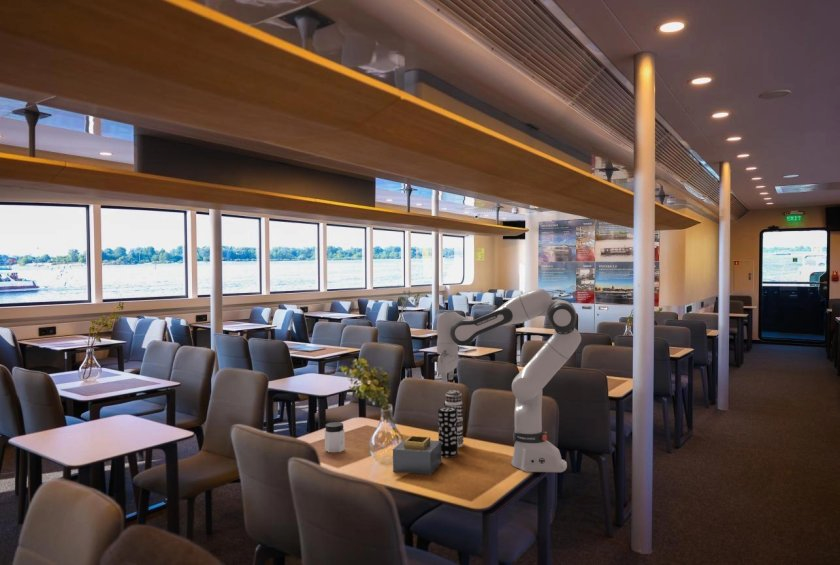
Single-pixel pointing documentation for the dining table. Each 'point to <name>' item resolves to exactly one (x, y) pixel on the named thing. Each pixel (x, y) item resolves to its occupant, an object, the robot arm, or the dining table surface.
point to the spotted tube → (448, 431)
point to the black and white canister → (456, 402)
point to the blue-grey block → (417, 455)
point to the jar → (334, 437)
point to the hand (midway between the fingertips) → (447, 381)
